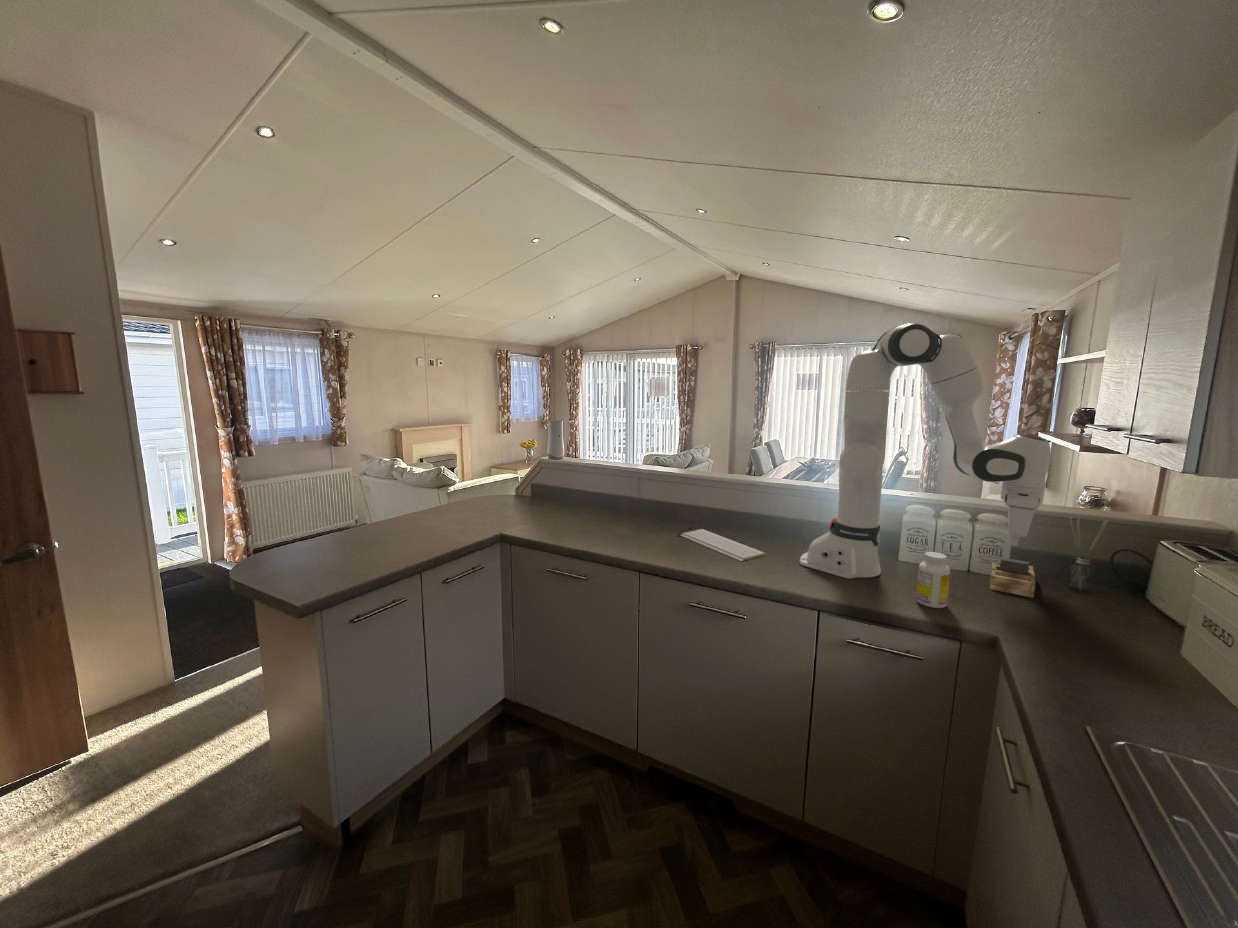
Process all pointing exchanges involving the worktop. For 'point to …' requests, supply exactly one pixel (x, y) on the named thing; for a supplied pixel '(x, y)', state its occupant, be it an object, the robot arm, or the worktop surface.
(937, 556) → the supplement bottle
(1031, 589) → the box
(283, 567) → the worktop surface
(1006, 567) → the panel
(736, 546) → the white keyboard
